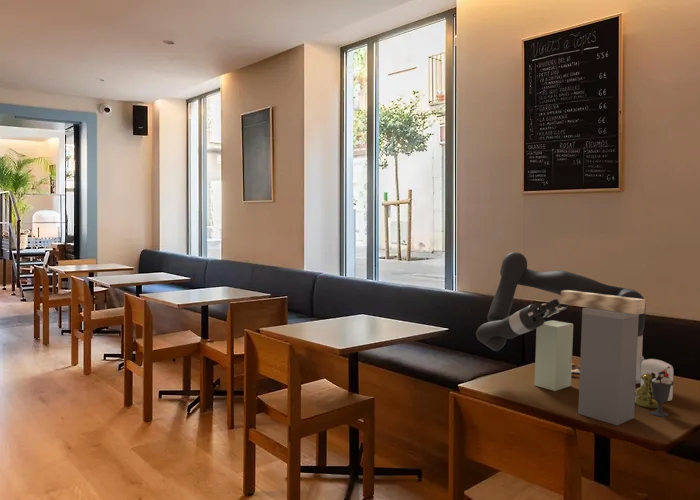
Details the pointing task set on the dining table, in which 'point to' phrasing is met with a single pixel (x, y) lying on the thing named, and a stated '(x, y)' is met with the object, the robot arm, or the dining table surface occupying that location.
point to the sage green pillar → (553, 355)
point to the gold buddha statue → (645, 393)
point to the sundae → (661, 390)
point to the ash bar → (603, 302)
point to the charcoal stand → (608, 365)
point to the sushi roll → (575, 371)
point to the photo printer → (657, 370)
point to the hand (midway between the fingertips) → (565, 300)
